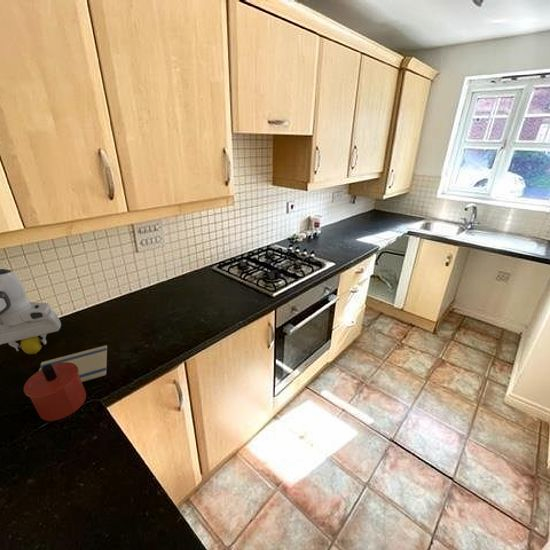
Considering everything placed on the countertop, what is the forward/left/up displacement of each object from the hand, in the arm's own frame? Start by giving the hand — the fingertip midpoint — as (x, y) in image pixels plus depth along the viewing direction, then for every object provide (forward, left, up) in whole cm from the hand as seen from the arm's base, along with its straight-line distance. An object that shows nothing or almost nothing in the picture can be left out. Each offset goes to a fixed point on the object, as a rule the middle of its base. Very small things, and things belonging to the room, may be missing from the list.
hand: (32, 346), depth 106 cm
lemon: (0, 0, -3) cm, 3 cm away
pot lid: (+12, -30, +6) cm, 33 cm away
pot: (+12, -30, -3) cm, 32 cm away
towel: (+13, -15, -3) cm, 20 cm away
